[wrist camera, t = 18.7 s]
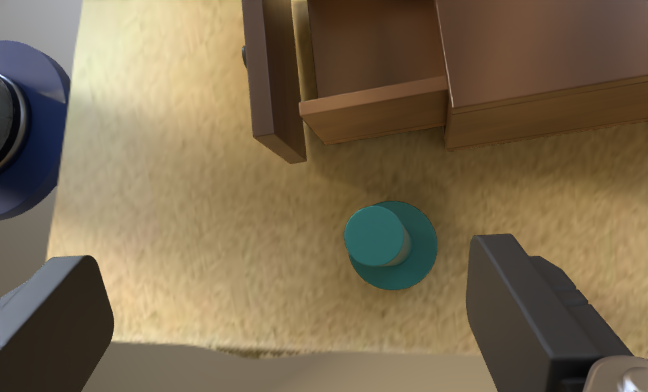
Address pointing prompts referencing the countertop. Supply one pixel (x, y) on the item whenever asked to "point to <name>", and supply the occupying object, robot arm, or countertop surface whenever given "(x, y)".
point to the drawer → (344, 71)
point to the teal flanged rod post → (391, 244)
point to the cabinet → (541, 67)
